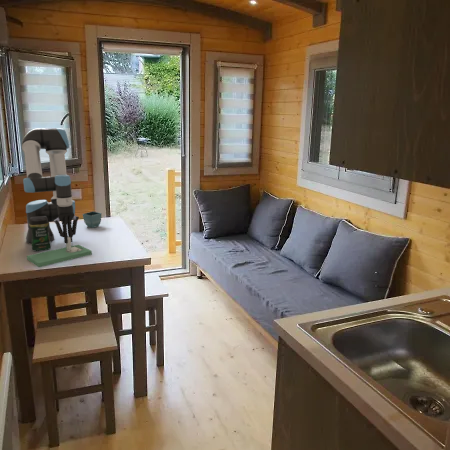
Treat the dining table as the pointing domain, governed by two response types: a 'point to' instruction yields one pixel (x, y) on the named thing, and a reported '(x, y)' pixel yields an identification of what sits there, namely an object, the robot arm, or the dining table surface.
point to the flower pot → (92, 219)
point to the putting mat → (58, 255)
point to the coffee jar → (40, 233)
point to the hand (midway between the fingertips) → (69, 248)
